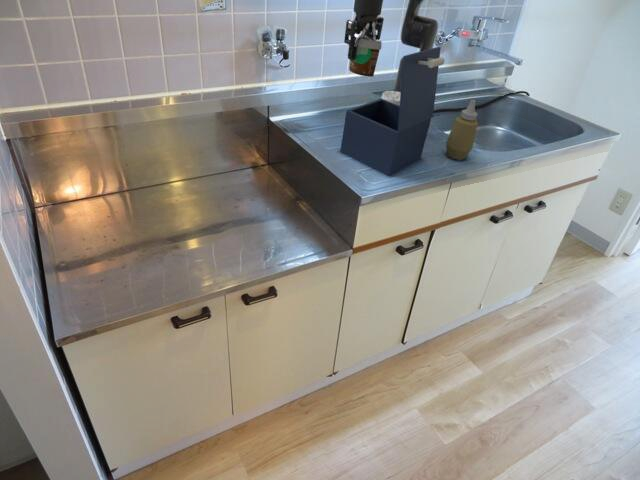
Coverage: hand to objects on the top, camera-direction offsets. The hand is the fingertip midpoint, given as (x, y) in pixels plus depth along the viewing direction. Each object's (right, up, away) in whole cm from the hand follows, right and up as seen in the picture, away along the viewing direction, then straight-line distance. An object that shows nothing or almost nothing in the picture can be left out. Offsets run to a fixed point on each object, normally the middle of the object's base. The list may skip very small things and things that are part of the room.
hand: (359, 57), depth 135 cm
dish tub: (+7, -27, +7) cm, 29 cm away
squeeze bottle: (+31, -26, +13) cm, 43 cm away
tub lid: (+15, -12, -10) cm, 21 cm away
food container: (-1, -3, +2) cm, 4 cm away
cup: (+11, -16, +23) cm, 30 cm away
